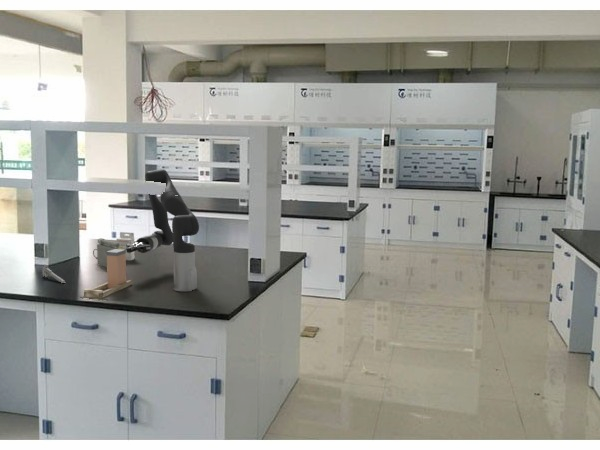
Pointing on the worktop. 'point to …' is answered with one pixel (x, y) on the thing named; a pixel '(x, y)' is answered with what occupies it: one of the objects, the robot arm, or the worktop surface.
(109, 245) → the geiger counter
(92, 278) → the worktop surface
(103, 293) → the chute
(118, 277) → the block
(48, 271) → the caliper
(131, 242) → the ink cartridge box
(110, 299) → the worktop surface
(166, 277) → the worktop surface
